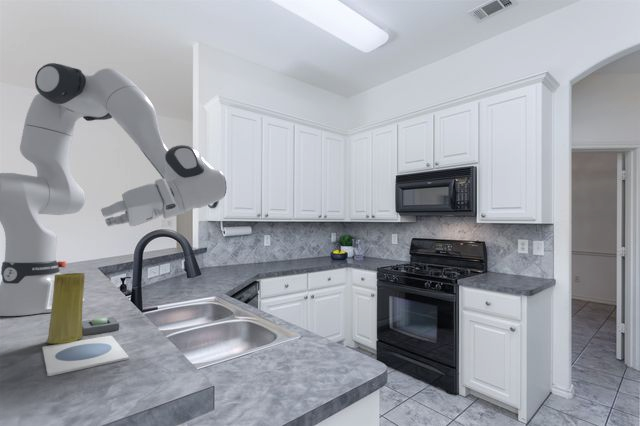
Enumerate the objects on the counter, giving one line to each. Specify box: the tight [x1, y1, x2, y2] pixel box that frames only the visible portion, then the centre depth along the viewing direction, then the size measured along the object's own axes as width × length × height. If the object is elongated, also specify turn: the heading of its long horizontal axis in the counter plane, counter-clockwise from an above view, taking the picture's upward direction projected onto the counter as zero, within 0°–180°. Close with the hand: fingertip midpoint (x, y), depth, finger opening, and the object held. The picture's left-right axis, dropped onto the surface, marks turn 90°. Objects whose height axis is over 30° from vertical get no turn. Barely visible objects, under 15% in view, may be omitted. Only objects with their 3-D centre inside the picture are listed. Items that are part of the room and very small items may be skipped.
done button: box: [91, 316, 109, 326], centre depth 79 cm, size 3×3×1 cm
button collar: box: [82, 316, 120, 336], centre depth 79 cm, size 7×7×2 cm
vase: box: [46, 272, 85, 345], centre depth 71 cm, size 6×6×14 cm
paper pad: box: [41, 335, 130, 377], centre depth 64 cm, size 16×12×1 cm
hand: (104, 218), depth 75 cm, fingers open, 8 cm apart
